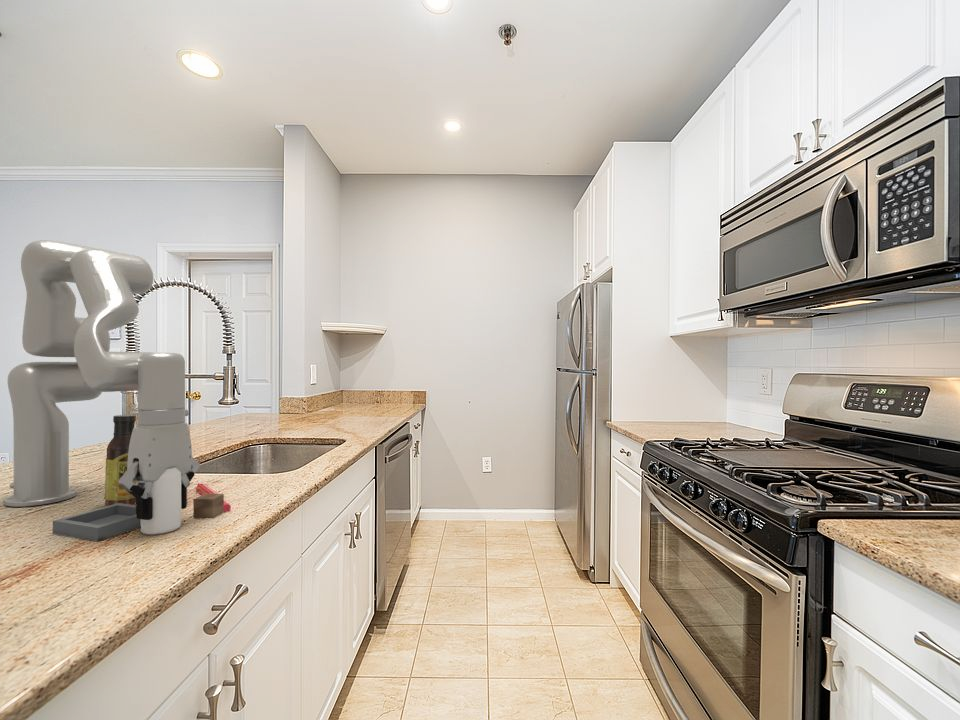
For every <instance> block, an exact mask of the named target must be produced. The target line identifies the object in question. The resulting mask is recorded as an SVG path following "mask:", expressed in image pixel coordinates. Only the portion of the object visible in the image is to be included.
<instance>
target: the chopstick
mask: <svg viewBox="0 0 960 720" xmlns="http://www.w3.org/2000/svg"><path fill="white" fill-rule="evenodd" d="M194 489H195V491H196V492H197V493H199V494H200V496H201V495H203V494H219V493H217V492H216V491H215V490H214V489H212V488H210V486H208V485H207V484H205V483H197V486H195V487H194ZM231 509H232V507H231V505H230V503H229V502H228V501H227V500H225V499H224V513H227V512H226V511H228V512H230V511H231Z"/></svg>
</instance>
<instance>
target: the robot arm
mask: <svg viewBox="0 0 960 720" xmlns="http://www.w3.org/2000/svg"><path fill="white" fill-rule="evenodd" d="M20 270H21V274H22V278H23V282H24V286H25V290H26V301H25V309H24V316H23V325H22V336H21V337H22V339H21V340H22V341H21V343H22V348H23V349H24V351H25V352H26V353H27V354H29V355H31V356H34V357H42V358H75V361H35V362H34V361H31V362H25V363H20V364H18V365H16V366H14V367H13V368H12V369H11V370H10V371H9V373H8V376H7V387H8V392H9V397H10V401H11V408H12V409H11V410H12V419H13V422H12V423H13V482H11V483H10V484H9V488H10V489H13V494H12V495H9V496H6V497H5V498H4V499H3V505H4V506H7V507H13V508H14V507H16V508H17V507H20V508H21V507H33V506H42V505H47V504H53V503H57V502H58V503H59V502H63V501H66V500H69V499H72V498H74V497H76V496H77V495H78V489H77V488H74V487H69V485H70V483H69V482H70V481H69V479H70V478H69V477H70V474H69V472H70V470H69V469H70V462H69V461H70V457H69V456H70V431H69V430H70V429H69V427H70V424H69V423H70V422H69V420H68V419H69V418H68V417H67V415H66V414H65V413H64V412H63V410H61V409H60V408H59V407H58V405H56V404H57V403H67V402H70V403H71V402H84V401H92V400H95V399H97V398H98V397H100V396H101V394H102V393H111V392H114V393H115V392H129V391H131V392H133V391H136V392H137V426H136V427H135V428H133V431H132V435H131V439H130V444H129V451H128V462H127V471H126V472H125V473H124V475H123V476H122V477H121V478H120V479H119V481H118V484H119V485H120V486H122V487H123V488H124V489H126V491H127V492H129V493H130V494H131V495H132V496H133V497H135V498H136V504H135V505H136V515H137V519H143V520H150V519H152V517H153V515H152V497H149V495H150V492H151V489H152V486H153V484H154V481H157V480H159V478H160V477H161V475H162V474H163V473H164V472H165V471H166V470H167V469H166V468H171V467H175V466H177V467H176V469H178V470H179V471H180V472H181V510H185V509H186V508H187V506H188V488H189V487H190V486H191V483H190V482H191V481H192V480H193V478H194V477H195V474H196V472H197V471H198V470H199V468H200V467H201V463H200V462H198V460H196V458H194V457H193V450H192V449H193V448H192V440H191V435H190V434H191V433H190V428H189V426H188V423H187V422H186V417H189V414H190V411H189V410H188V409H186V361H185V357H184V356H183V355H181V354H180V353H176V352H150V351H149V352H148V351H147V352H143V351H142V352H141V351H110V346H111V334H110V333H109V331H112V330H116V329H119V328H121V327H123V326H126V325H129V323H131V322H133V321H134V320H135V319H136V318H137V317H138V315H139V311H140V310H139V305H138V303H137V301H136V298H135V296H134V294H135V295H143V294H146V293H147V292H148V291H149V290H151V289H152V286H153V284H154V273H153V268H152V267H151V266H150V264H149V262H147V260H146V259H144V258H143V257H141V256H138V255H133V254H127V253H123V252H118V251H112V250H107V249H102V248H97V247H91V246H84V245H81V244H75V243H69V242H64V241H57V240H56V241H54V240H42V239H41V240H34V241H32V242H30V243H28V244H27V245H26V246H25V247H24V249H23V251H22V254H21V257H20ZM68 283H70V284H71V283H72V284H75V285H76V287H77V290H78V293H79V296H80V297H81V298H80V299H81V300H82V302H83V305H84V308H85V310H86V312H87V315H88V316H86V317H76V316H75V315H76V307H77V298H76V295H75V293H74V292H73V289H72V288H71V287H70V285H69V284H68ZM133 481H137V483H136V485H135V484H134V483H133ZM143 483H144V484H145V486H144V488H143Z"/></svg>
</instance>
